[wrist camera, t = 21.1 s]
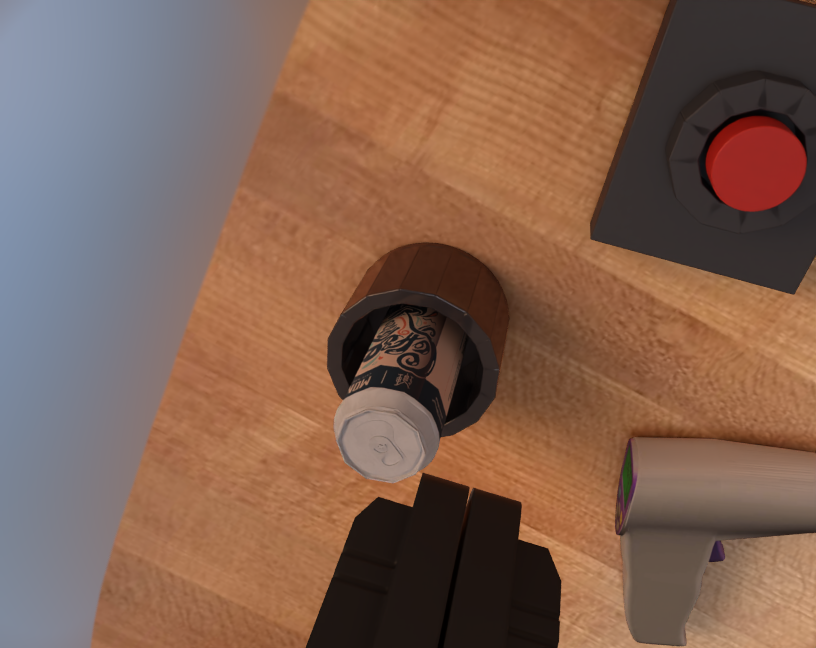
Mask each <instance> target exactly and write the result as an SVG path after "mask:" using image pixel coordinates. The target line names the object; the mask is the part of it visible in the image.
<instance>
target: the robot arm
mask: <svg viewBox="0 0 816 648" xmlns="http://www.w3.org/2000/svg"><path fill="white" fill-rule="evenodd" d="M468 494H469V487H468V486H465V485H462V484H459V483H455V482H452V481H449V480H445V479H442V478H439V477H435V476H432V475H429V474H425V473H423V474H422V477H421V481H420V484H419V487H418V491H417V494H416V498H415V501H414V505H413V507H410V506H406V505H403V504H400V503H397V502H393V501H390V500H387V499H384V498H380V497H378V498H376V499H375V500H374V501H373V502H372V503H371V504H370V505H369V506H368V507H366V508H365V509H364V510H363V511H362V512H361V513H360V514H359V515H358V516H356V517H355V519H354V522H353V524H352V527H351V530H350V532H349V535H348V538H347V540H346V543H345V545H344V549H343V552H342V553H341V556H340V559H339V561H338V564H337V567H336V569H335V572H334V575H333V578H332V580H331V582H330V585H329V588H328V590H327V593H326V595H325V598H324V601H323V603H322V606H321V609H320V611H319V614H318V617H317V619H316V622H315V624H314V627H313V630H312V632H311V635H310V638H309V640H308V643H307V645H306V648H558V643H559V626H560V621H559V616H560V601H561V579H560V577H559V574H558V572H557V569H556V567H555V564H554V562H553V560H552V557H551V555H550V552H549V550H548V548H545V547H541V546H538V545H535V544H532V543H528V542H525V541H522V540H518V537H519V527H520V518H521V508H522V505H521V502H519V501H516V500H512V499H509V498H506V497H502V496H499V495H496V494H492V493H489V492H486V491H482V490H479V489H476V488H473V489H472V491H471V494H470V497H469V500H468ZM467 500H468V503H467ZM466 504H467V506H466Z"/></svg>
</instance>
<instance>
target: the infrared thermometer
mask: <svg viewBox="0 0 816 648" xmlns="http://www.w3.org/2000/svg"><path fill="white" fill-rule="evenodd" d="M615 528H616V534H617V535H620V545H621V554H622V558H623V595H624V608H625V615H626V621H627V624H628V627H629V630H630V632H631V634H632V636H633V638H634V640H635V641H637V642H639V643H646V644H658V645H671V646H685V645H686V643H687V641H686V633H685V624H686V622H687V620H688V618H689V615H690V613H691V611H692V609H693V607H694V605H695V603H696V601H697V599H698V597H699V595H700V590H701V584H702V576H703V574H704V571H705V569H706V567H707V565H708V562H718V561H723V560H724V559H725V553H724V548H723V545H722V543H721V540H733V539H745V538H757V537H769V536H780V535H792V534H804V533H816V453H814V452H807V451H799V450H791V449H784V448H777V447H769V446H762V445H755V444H747V443H740V442H733V441H726V440H719V439H703V438H651V437H633V438H632V439H629V441H628V445H627V448H626V452H625V456H624V460H623V465H622V470H621V475H620V481H619V487H618V494H617V503H616V516H615Z"/></svg>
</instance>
